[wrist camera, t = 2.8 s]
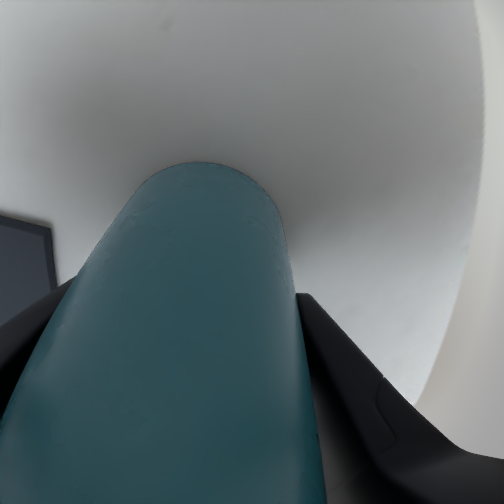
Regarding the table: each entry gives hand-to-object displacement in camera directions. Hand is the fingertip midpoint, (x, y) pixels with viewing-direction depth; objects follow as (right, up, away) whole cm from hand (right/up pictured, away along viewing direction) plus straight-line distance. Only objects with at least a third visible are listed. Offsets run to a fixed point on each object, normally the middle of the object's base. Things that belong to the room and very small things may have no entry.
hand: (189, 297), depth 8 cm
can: (0, +2, +3) cm, 3 cm away
